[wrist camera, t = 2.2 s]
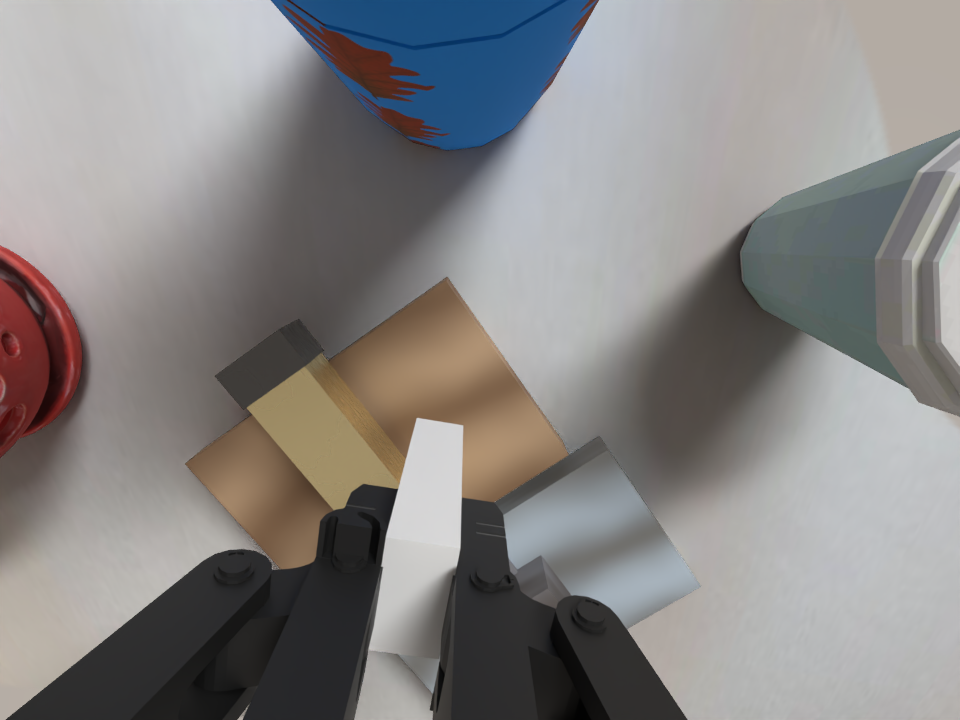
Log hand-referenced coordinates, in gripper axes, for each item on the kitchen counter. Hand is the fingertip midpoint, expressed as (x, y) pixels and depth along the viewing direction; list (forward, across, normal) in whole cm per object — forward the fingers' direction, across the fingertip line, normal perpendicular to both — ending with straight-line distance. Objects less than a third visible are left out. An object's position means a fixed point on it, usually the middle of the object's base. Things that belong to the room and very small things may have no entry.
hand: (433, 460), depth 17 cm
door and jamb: (+14, -2, +10) cm, 17 cm away
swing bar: (+11, +4, +5) cm, 13 cm away
